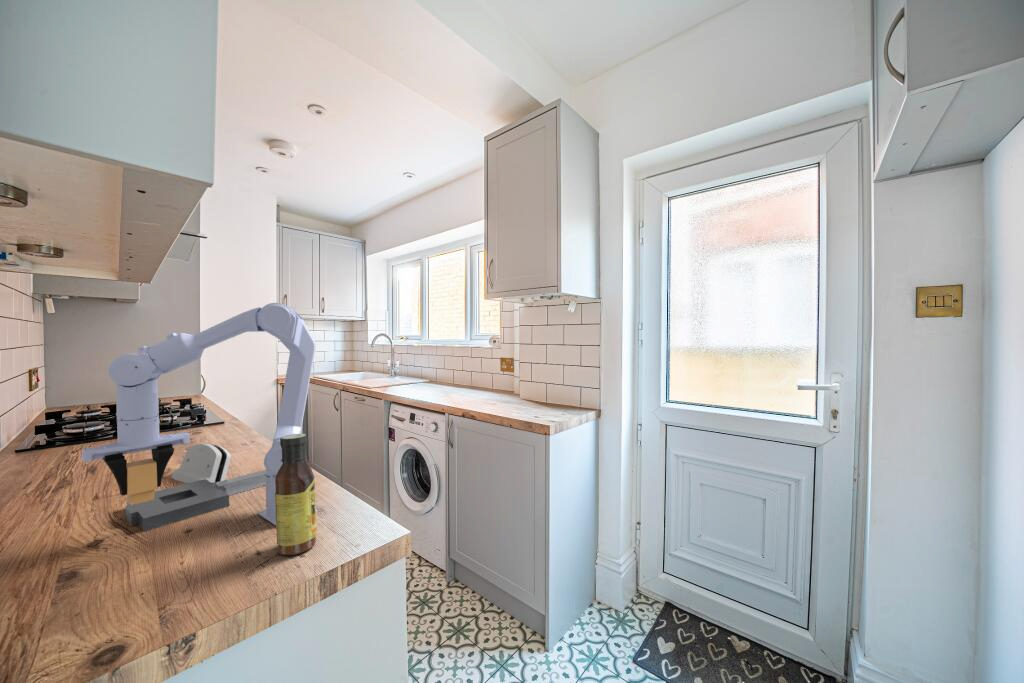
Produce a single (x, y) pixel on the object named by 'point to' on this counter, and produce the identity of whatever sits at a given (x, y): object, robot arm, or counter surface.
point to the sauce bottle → (295, 498)
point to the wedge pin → (141, 480)
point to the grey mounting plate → (189, 500)
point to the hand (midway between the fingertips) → (140, 489)
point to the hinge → (203, 464)
